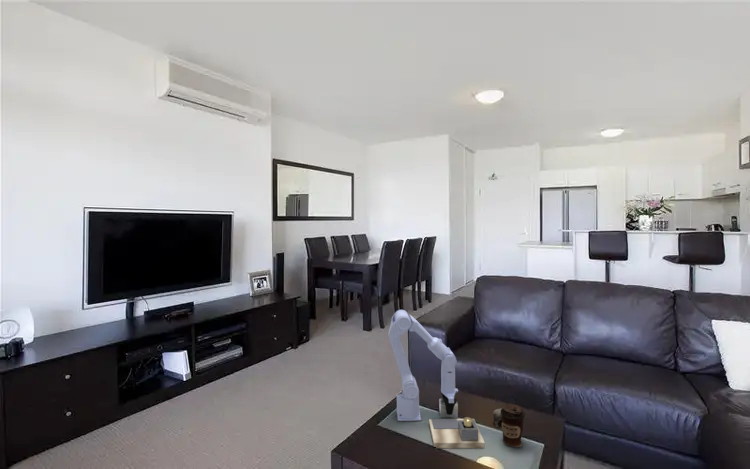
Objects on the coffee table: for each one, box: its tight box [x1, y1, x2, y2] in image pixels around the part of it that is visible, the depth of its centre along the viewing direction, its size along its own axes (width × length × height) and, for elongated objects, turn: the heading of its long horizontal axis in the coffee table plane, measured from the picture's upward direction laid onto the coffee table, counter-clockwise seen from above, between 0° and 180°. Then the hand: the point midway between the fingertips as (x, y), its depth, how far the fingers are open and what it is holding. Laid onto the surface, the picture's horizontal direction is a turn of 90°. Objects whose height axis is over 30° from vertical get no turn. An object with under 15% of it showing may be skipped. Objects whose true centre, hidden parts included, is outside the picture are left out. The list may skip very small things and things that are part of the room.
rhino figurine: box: [492, 407, 503, 428], centre depth 148 cm, size 4×14×6 cm, turn 121°
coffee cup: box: [500, 403, 526, 448], centre depth 133 cm, size 9×8×13 cm
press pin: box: [463, 416, 473, 428], centre depth 135 cm, size 3×3×4 cm
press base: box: [428, 418, 486, 449], centre depth 139 cm, size 18×15×6 cm
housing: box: [438, 398, 459, 418], centre depth 153 cm, size 7×4×6 cm, turn 89°
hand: (448, 410), depth 153 cm, fingers closed on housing, 4 cm apart
